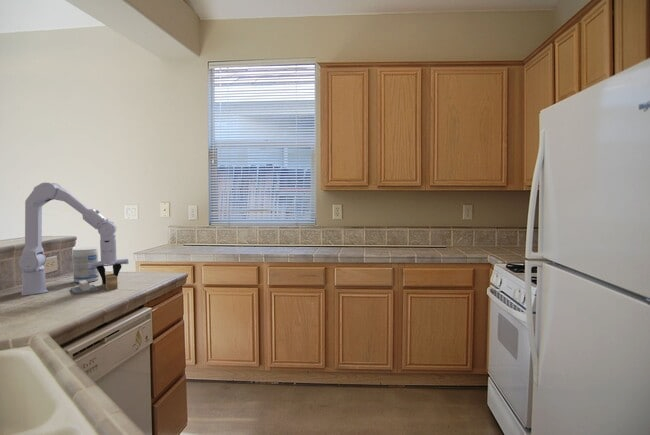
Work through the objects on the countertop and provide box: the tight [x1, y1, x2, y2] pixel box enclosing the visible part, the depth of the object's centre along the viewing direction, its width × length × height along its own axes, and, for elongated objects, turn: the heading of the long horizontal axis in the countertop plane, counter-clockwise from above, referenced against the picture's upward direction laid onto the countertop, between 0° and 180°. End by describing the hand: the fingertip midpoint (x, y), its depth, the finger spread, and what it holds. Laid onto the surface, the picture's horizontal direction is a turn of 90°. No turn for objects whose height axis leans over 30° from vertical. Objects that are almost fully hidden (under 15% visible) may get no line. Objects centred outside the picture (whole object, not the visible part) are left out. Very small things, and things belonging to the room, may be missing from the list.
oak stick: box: [101, 271, 118, 291], centre depth 156 cm, size 12×3×5 cm, turn 41°
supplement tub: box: [72, 246, 100, 284], centre depth 166 cm, size 10×10×15 cm
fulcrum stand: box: [70, 280, 99, 295], centre depth 150 cm, size 10×8×3 cm
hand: (109, 282), depth 156 cm, fingers closed on oak stick, 3 cm apart
